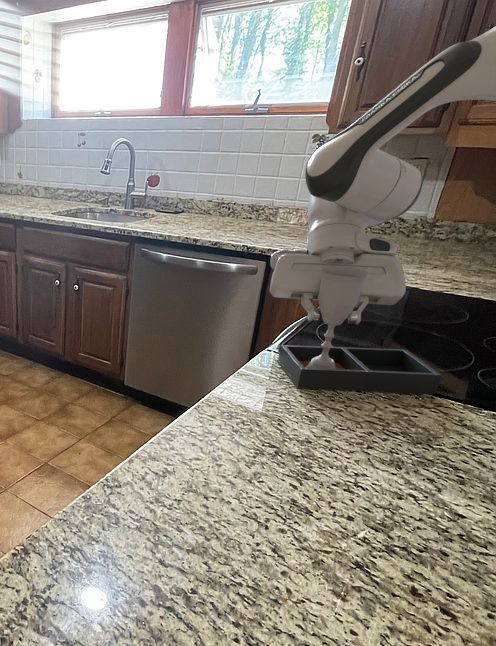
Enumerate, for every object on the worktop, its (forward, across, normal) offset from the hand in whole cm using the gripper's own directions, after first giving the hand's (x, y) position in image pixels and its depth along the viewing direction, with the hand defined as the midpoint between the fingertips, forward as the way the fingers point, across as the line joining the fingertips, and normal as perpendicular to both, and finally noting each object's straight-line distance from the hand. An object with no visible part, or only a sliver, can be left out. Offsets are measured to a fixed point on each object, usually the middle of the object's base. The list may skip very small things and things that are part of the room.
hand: (333, 321), depth 89 cm
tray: (+6, +5, +9) cm, 12 cm away
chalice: (+6, 0, +7) cm, 10 cm away
